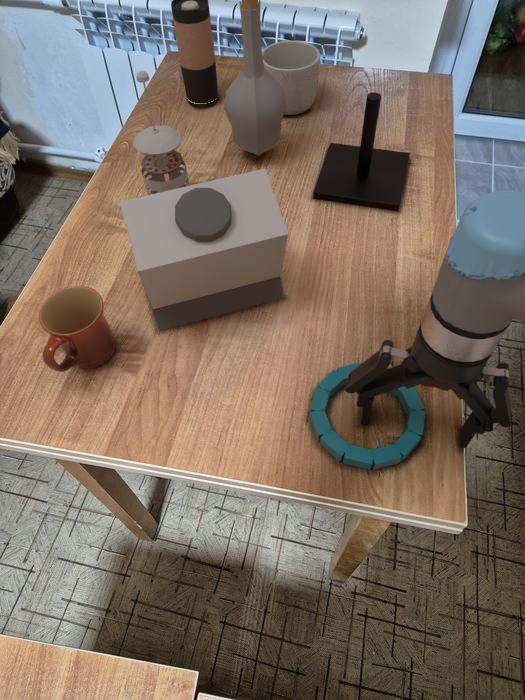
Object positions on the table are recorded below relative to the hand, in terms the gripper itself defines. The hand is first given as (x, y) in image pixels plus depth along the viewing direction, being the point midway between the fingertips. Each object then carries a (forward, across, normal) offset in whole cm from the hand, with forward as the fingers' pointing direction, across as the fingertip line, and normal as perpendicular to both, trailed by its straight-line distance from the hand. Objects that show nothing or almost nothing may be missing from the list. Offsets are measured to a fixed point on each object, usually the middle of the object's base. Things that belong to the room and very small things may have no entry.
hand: (413, 427), depth 69 cm
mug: (0, +48, +1) cm, 49 cm away
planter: (0, +35, -73) cm, 81 cm away
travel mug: (0, +55, -71) cm, 90 cm away
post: (0, +15, -51) cm, 53 cm away
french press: (0, +49, -36) cm, 61 cm away
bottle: (0, +37, -54) cm, 66 cm away
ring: (0, +6, 0) cm, 6 cm away
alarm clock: (0, +34, -17) cm, 38 cm away
